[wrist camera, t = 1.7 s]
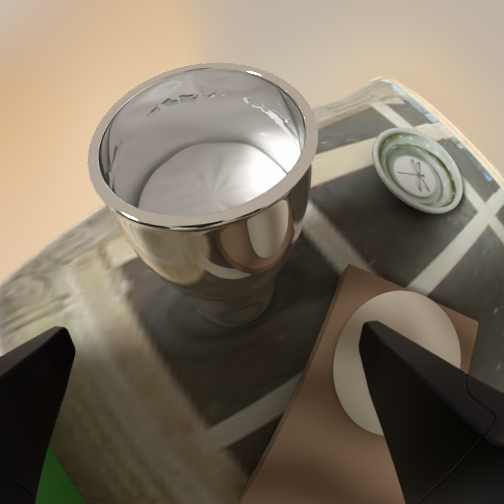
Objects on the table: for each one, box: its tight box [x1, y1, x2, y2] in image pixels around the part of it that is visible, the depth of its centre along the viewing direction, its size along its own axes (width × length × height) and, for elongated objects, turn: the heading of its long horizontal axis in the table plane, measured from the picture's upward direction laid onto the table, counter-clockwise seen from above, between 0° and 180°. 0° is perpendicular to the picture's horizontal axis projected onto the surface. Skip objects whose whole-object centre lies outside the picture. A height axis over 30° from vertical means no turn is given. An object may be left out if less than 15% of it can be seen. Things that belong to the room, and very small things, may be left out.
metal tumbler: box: [88, 63, 318, 326], centre depth 15 cm, size 7×7×15 cm
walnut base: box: [238, 264, 479, 504], centre depth 17 cm, size 18×12×2 cm, turn 156°
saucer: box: [372, 128, 463, 214], centre depth 24 cm, size 10×10×2 cm
